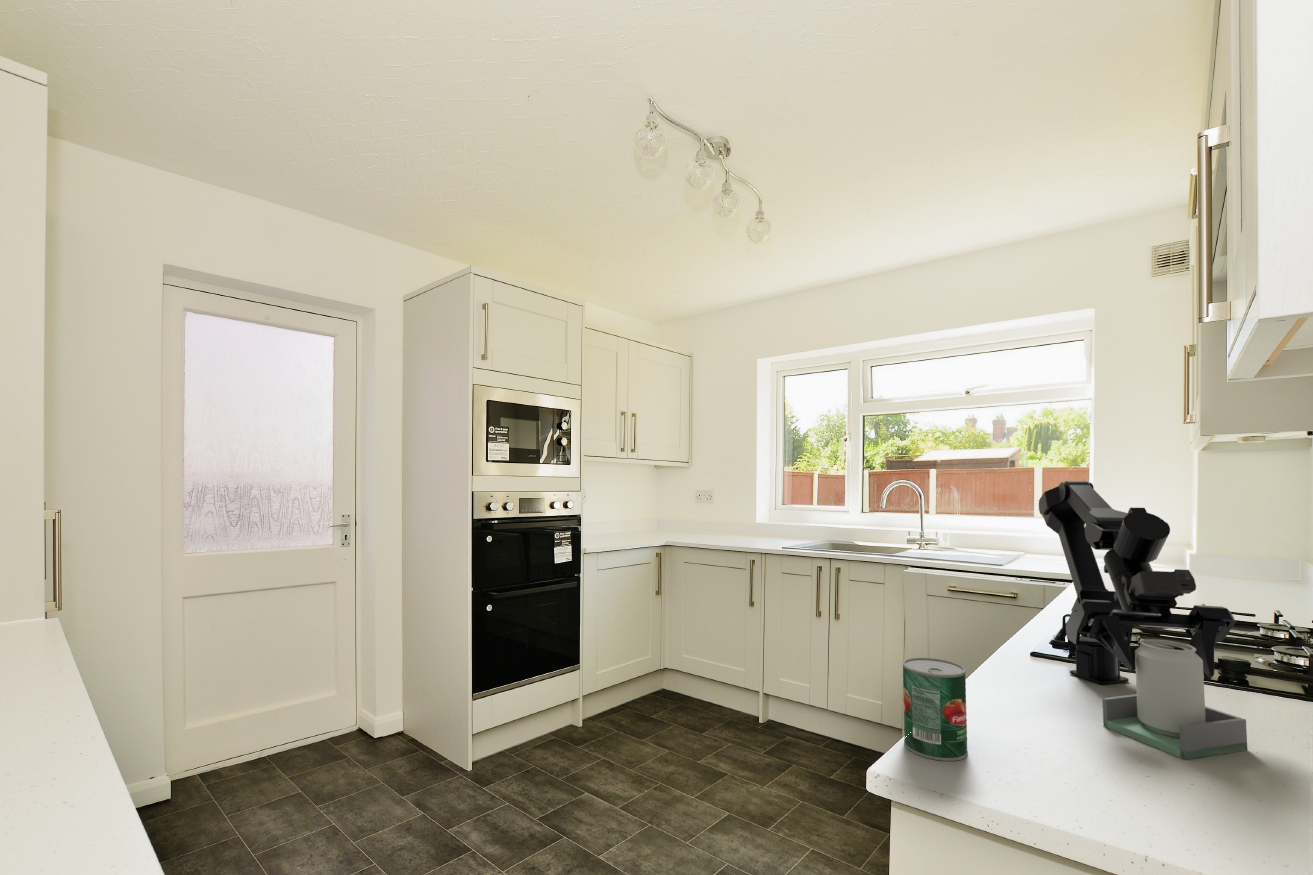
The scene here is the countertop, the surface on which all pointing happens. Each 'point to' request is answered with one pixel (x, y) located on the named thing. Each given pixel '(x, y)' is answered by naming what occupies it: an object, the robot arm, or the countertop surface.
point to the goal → (1194, 740)
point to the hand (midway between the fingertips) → (1171, 673)
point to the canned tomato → (935, 708)
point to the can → (1169, 686)
